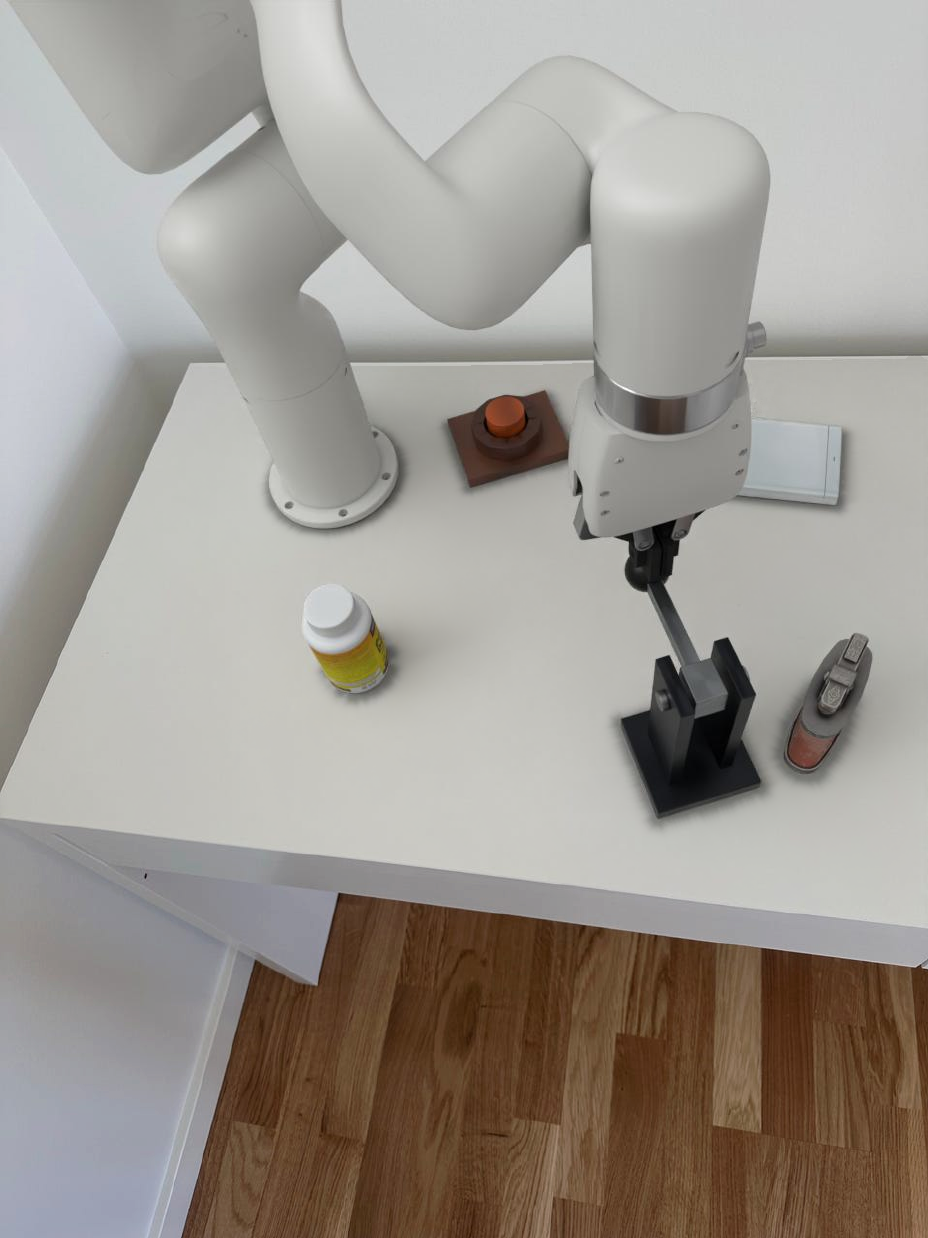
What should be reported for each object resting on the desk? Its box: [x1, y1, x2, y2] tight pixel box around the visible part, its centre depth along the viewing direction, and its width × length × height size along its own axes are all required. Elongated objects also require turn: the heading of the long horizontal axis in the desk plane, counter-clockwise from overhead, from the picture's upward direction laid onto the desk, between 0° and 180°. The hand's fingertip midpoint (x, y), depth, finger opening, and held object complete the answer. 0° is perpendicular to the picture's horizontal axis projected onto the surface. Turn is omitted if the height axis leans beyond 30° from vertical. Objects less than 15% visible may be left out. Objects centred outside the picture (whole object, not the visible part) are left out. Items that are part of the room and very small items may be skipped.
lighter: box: [783, 632, 873, 775], centre depth 66 cm, size 8×3×10 cm, turn 148°
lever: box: [623, 555, 728, 719], centre depth 63 cm, size 13×3×3 cm, turn 15°
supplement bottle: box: [301, 583, 390, 694], centre depth 74 cm, size 6×6×10 cm
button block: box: [446, 389, 569, 488], centre depth 87 cm, size 10×8×3 cm
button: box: [485, 397, 525, 438], centre depth 85 cm, size 4×4×2 cm
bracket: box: [620, 636, 762, 820], centre depth 64 cm, size 8×8×14 cm
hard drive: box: [737, 417, 843, 506], centre depth 82 cm, size 2×8×12 cm
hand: (652, 562), depth 64 cm, fingers closed
